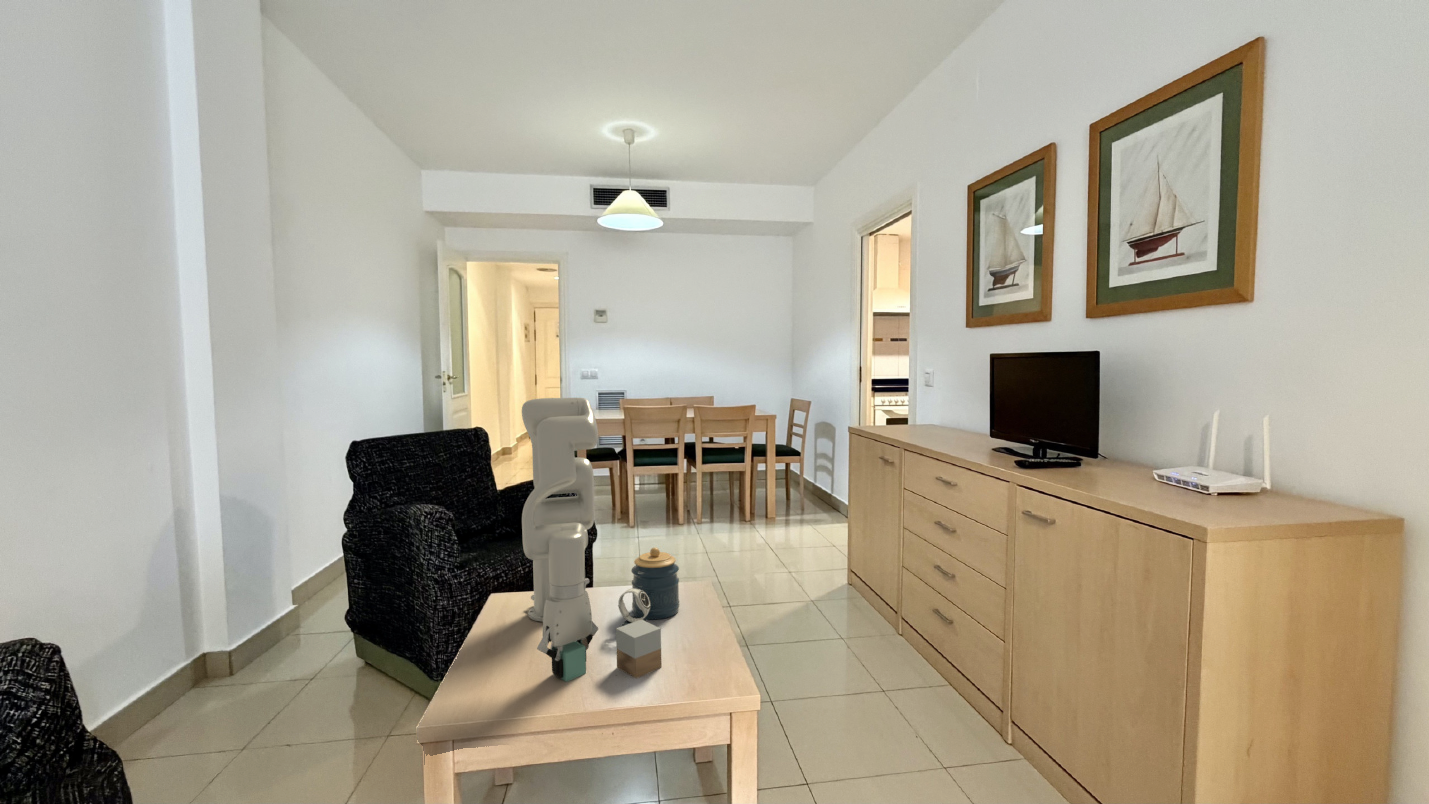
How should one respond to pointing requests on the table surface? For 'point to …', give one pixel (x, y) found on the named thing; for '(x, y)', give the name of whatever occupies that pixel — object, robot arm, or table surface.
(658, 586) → the canister
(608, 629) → the table surface
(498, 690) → the table surface
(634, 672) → the base block
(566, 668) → the stack block
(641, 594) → the watch
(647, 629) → the top block
